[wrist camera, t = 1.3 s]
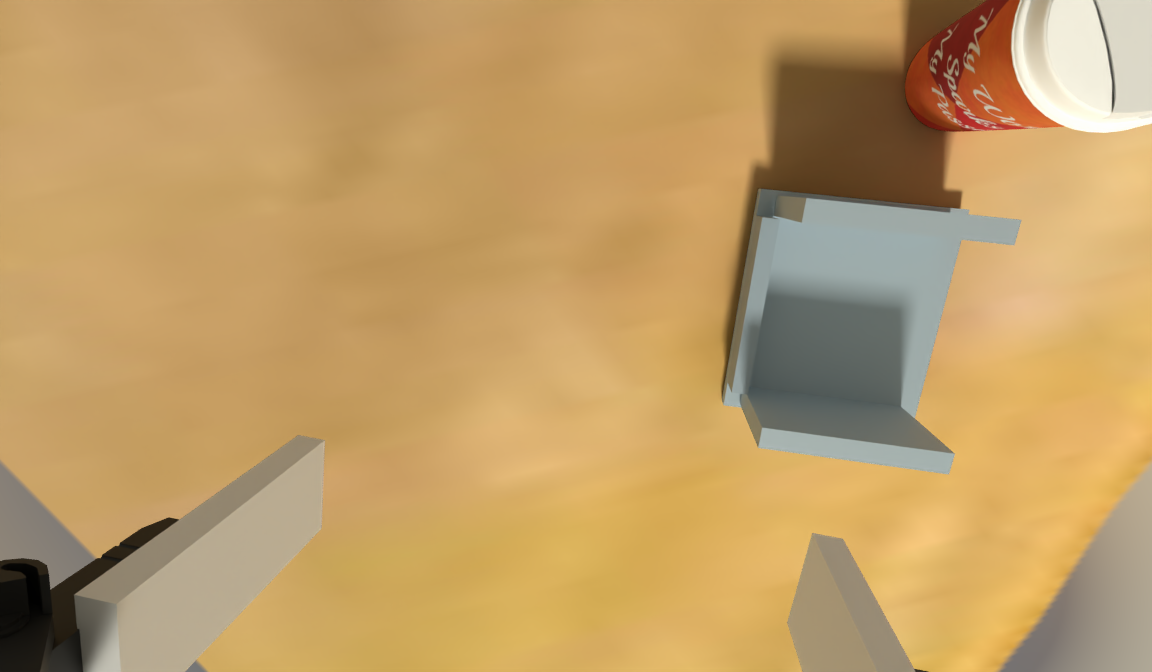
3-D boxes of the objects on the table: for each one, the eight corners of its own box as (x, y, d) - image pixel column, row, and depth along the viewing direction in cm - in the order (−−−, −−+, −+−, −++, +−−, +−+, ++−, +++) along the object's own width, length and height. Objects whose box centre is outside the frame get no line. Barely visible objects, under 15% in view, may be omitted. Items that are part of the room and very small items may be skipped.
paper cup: (858, 71, 35) (990, 0, 21) (982, -25, 33) (1212, -169, 20) (932, 179, 36) (1102, 176, 22) (1056, 92, 34) (1324, 31, 20)
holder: (758, 188, 37) (786, 189, 29) (960, 209, 36) (1045, 215, 28) (721, 399, 41) (739, 450, 33) (905, 424, 40) (967, 482, 32)
